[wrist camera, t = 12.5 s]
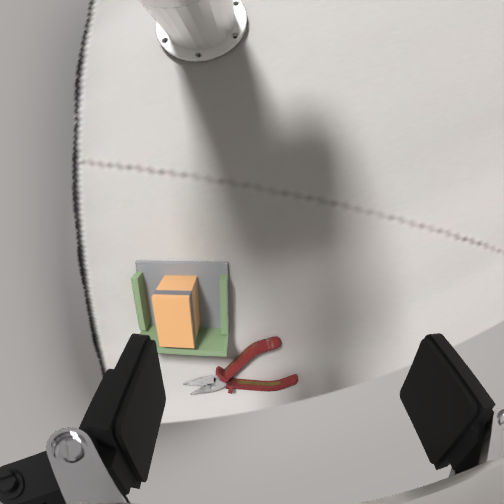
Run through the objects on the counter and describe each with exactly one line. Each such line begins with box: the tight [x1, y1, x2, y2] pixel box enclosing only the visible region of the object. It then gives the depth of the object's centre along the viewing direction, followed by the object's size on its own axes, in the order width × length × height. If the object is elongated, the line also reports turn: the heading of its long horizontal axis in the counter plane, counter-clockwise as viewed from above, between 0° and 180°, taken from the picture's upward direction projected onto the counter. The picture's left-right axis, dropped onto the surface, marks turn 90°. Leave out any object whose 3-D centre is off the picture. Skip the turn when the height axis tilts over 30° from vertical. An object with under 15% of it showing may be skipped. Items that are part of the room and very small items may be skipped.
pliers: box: [183, 337, 298, 395], centre depth 52 cm, size 12×20×3 cm, turn 112°
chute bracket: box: [131, 261, 229, 357], centre depth 44 cm, size 12×14×7 cm
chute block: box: [152, 275, 201, 348], centre depth 43 cm, size 8×5×7 cm, turn 0°
